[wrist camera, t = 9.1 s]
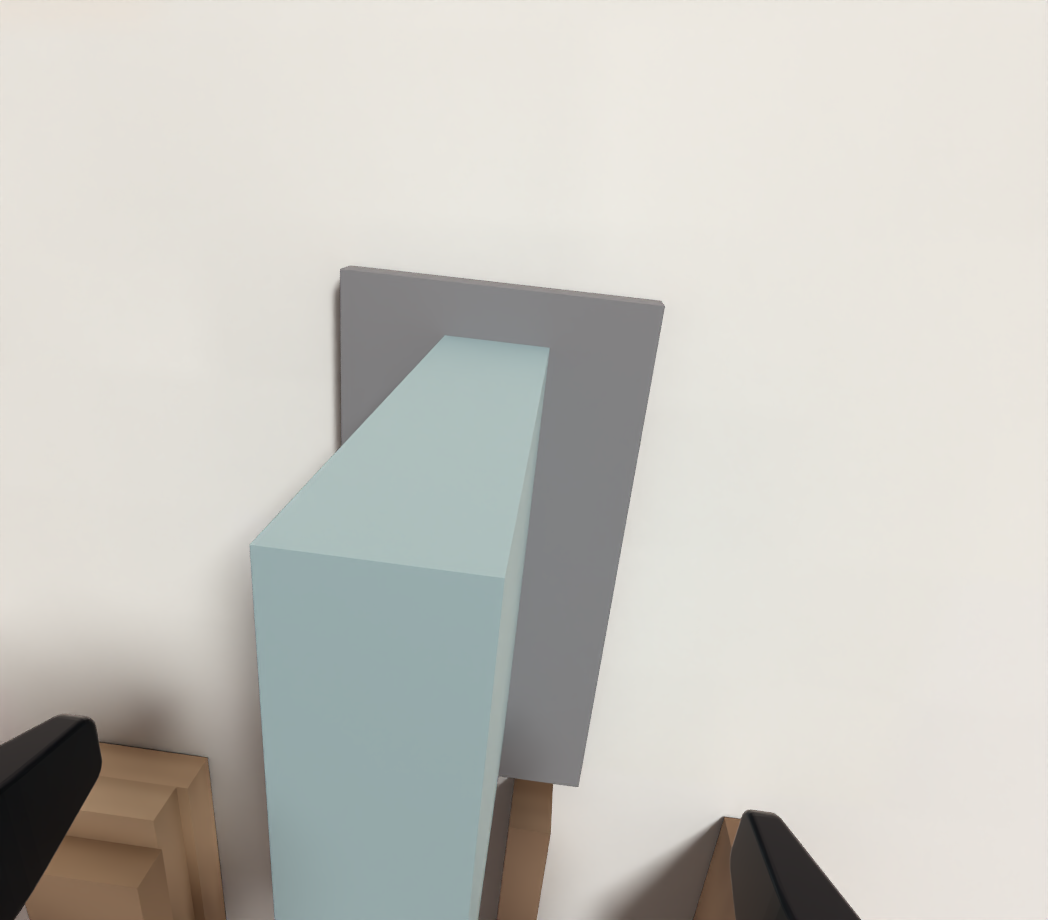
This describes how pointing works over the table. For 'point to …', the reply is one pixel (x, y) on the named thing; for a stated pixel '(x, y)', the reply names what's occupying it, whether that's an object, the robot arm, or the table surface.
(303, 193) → the table surface
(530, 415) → the grey-green rectangular slab
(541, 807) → the walnut rack
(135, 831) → the offcut stack
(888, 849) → the table surface
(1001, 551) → the table surface
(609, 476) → the rubber mat
